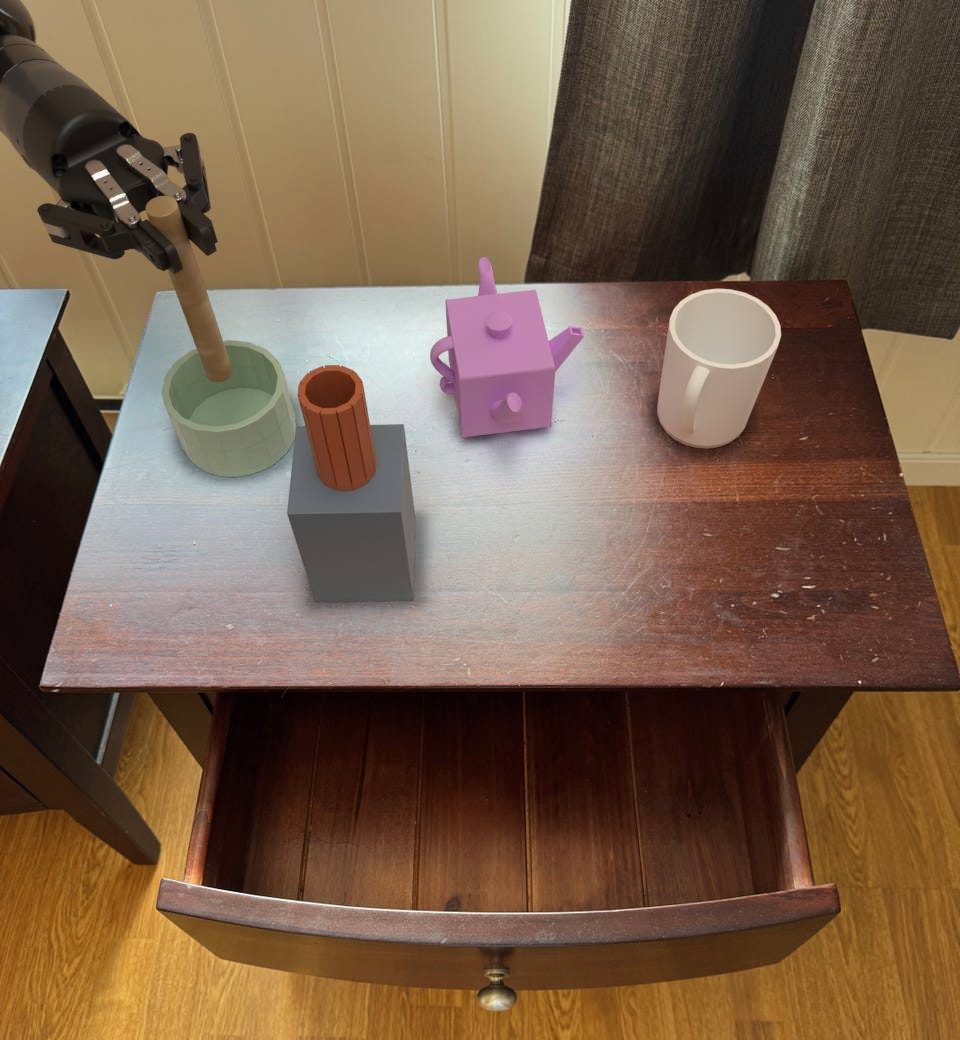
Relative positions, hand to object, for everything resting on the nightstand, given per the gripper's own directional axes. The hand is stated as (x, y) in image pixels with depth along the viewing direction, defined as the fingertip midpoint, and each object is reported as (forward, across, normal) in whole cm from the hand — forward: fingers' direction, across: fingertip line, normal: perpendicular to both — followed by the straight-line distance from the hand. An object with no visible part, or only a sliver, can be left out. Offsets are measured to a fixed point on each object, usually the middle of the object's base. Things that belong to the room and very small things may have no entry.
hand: (192, 251), depth 67 cm
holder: (+16, 0, +21) cm, 26 cm away
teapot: (+10, +20, +21) cm, 31 cm away
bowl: (-3, 0, +21) cm, 21 cm away
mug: (+24, +31, +21) cm, 45 cm away
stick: (-3, 0, +14) cm, 14 cm away
